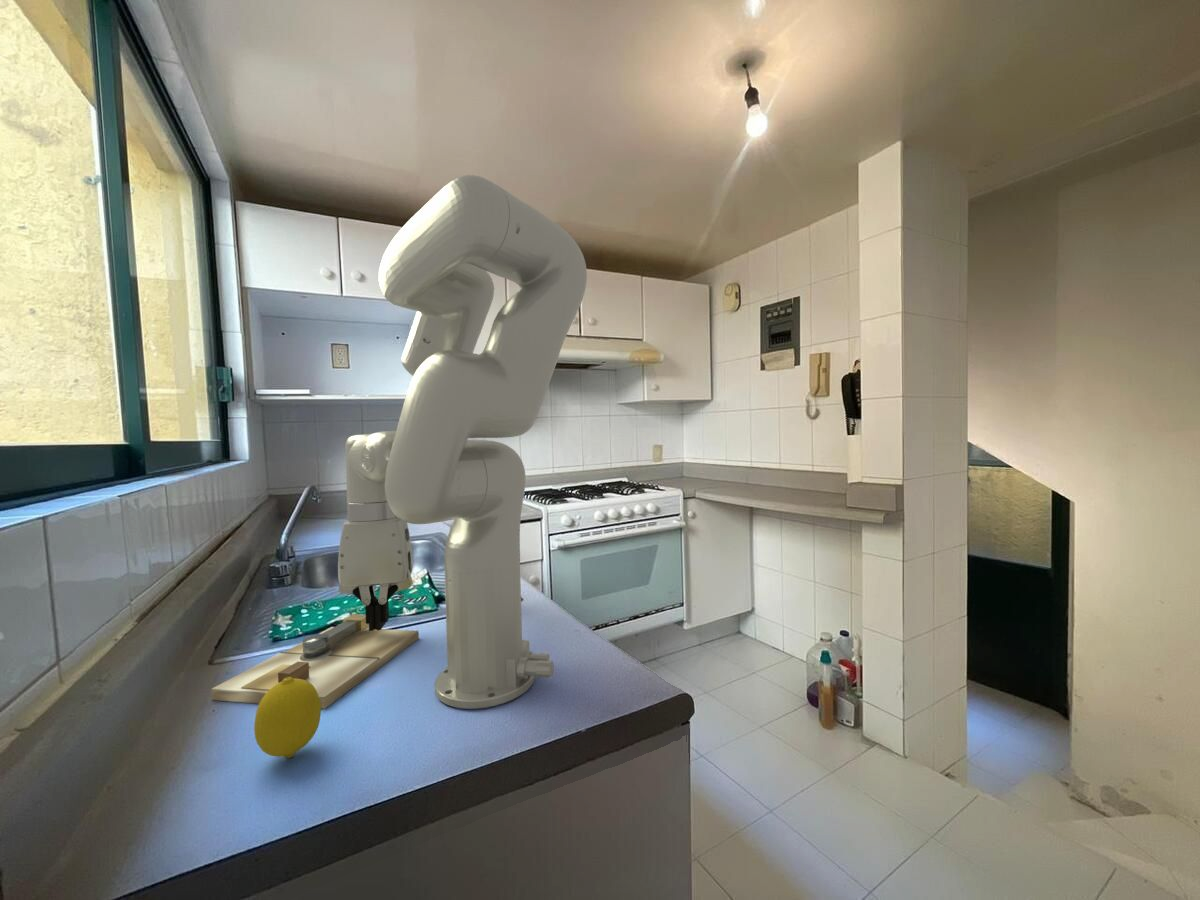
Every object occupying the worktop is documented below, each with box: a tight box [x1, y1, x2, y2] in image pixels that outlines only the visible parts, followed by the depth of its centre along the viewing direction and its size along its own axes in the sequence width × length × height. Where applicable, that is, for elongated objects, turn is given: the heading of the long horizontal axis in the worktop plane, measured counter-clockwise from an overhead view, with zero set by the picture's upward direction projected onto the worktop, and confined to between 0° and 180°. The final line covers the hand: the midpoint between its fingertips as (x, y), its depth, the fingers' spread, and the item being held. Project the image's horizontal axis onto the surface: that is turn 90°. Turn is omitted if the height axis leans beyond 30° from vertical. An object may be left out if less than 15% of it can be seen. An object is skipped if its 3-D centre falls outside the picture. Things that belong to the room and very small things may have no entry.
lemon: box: [253, 677, 322, 759], centre depth 46 cm, size 6×6×8 cm
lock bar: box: [302, 613, 369, 657], centre depth 70 cm, size 11×3×2 cm, turn 170°
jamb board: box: [211, 626, 420, 710], centre depth 65 cm, size 16×20×3 cm
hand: (377, 626), depth 72 cm, fingers closed
